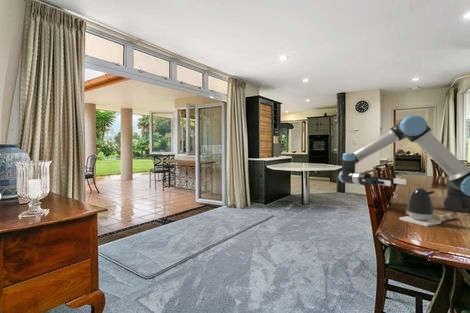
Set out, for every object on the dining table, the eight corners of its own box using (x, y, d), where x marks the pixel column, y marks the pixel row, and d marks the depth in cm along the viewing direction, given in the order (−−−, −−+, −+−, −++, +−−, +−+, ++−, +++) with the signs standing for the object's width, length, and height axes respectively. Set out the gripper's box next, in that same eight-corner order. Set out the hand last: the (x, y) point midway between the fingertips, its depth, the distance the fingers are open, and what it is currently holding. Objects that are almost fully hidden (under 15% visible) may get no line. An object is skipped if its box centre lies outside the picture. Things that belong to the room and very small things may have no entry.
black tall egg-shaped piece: (431, 223, 112) (432, 190, 112) (404, 218, 120) (405, 187, 120) (435, 219, 119) (436, 188, 119) (409, 215, 127) (410, 185, 126)
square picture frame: (421, 211, 139) (421, 207, 138) (453, 218, 125) (453, 213, 125) (405, 214, 132) (406, 209, 132) (437, 221, 119) (437, 216, 119)
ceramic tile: (413, 217, 127) (413, 215, 127) (441, 223, 116) (441, 221, 116) (399, 219, 122) (399, 217, 122) (426, 226, 111) (426, 224, 111)
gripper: (375, 183, 155) (412, 188, 136) (348, 186, 144) (383, 191, 125) (375, 171, 154) (412, 174, 135) (348, 173, 144) (383, 176, 124)
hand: (398, 182), depth 130 cm, fingers open, 13 cm apart
